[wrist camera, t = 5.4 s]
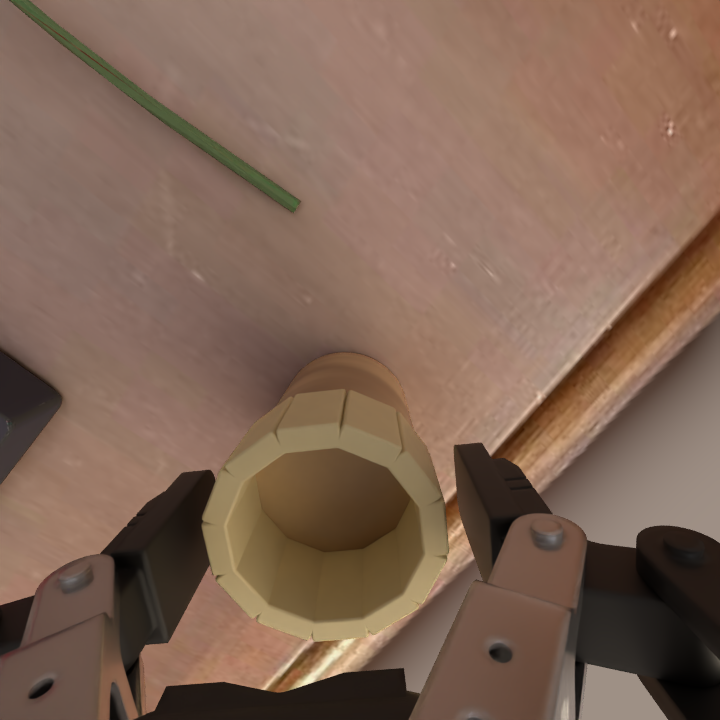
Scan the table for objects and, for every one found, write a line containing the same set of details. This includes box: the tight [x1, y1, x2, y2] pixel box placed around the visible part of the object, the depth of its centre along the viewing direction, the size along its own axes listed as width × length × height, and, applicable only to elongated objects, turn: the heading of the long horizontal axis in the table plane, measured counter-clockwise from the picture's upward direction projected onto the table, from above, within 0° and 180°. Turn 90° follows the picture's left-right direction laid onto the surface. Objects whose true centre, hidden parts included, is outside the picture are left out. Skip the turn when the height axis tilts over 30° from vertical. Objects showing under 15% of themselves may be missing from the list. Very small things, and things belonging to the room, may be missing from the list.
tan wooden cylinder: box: [255, 352, 413, 552], centre depth 15 cm, size 5×5×6 cm
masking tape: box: [201, 389, 449, 642], centre depth 11 cm, size 6×6×3 cm
